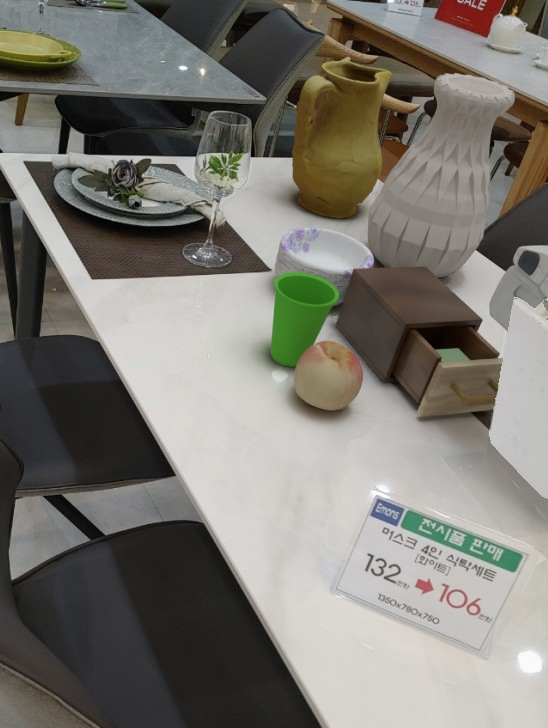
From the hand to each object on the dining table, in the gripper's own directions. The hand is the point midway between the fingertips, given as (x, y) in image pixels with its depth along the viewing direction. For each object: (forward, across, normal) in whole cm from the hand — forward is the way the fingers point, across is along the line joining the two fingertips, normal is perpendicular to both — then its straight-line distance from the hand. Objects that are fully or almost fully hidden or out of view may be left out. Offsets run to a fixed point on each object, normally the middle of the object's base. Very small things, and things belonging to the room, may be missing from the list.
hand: (526, 390), depth 92 cm
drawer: (+10, +14, -1) cm, 17 cm away
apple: (+12, +15, +17) cm, 26 cm away
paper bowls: (+12, +44, +4) cm, 45 cm away
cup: (+12, +26, +17) cm, 33 cm away
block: (+9, +14, -1) cm, 16 cm away
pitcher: (+11, +79, -13) cm, 81 cm away
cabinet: (+11, +26, -1) cm, 28 cm away
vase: (+11, +52, -18) cm, 56 cm away
